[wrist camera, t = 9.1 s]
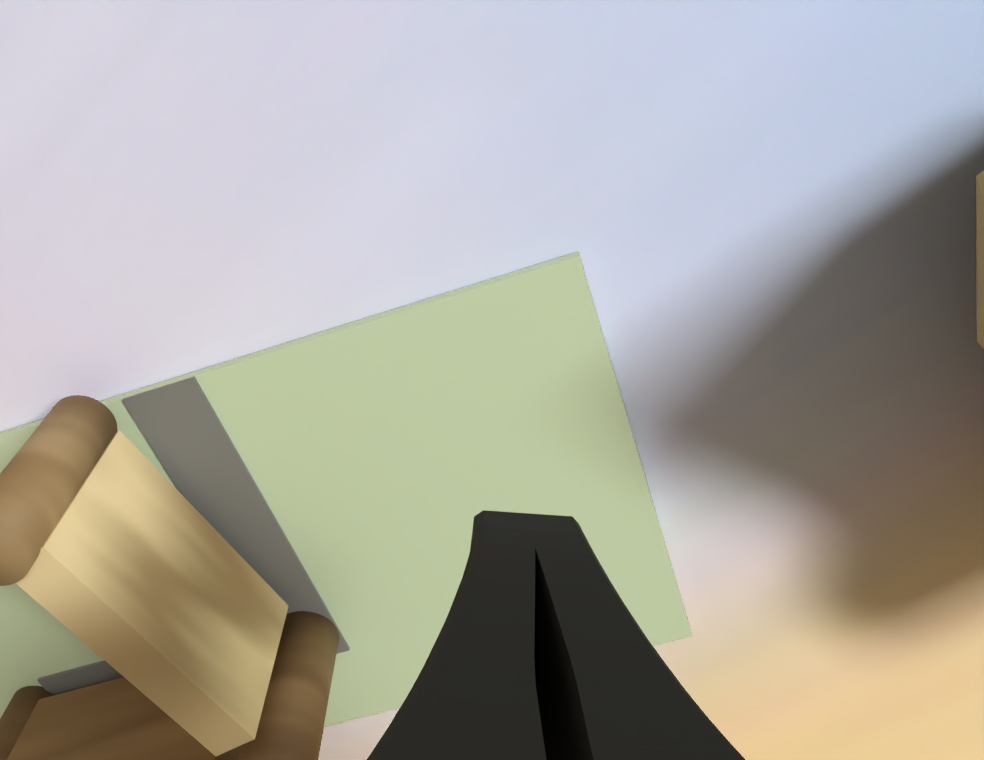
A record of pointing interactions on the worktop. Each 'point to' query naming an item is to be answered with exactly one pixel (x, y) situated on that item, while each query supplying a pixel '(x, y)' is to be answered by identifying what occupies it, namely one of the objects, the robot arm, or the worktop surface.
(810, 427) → the worktop surface
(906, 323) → the worktop surface
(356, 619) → the board
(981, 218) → the low-poly potato
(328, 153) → the worktop surface
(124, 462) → the hinged panel
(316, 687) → the fixed fence
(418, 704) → the robot arm
